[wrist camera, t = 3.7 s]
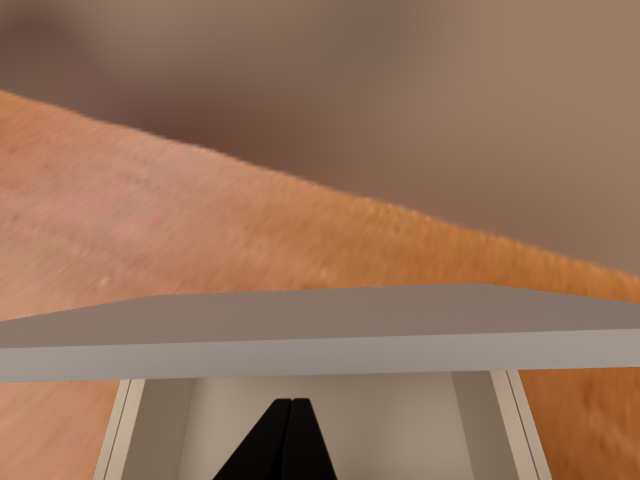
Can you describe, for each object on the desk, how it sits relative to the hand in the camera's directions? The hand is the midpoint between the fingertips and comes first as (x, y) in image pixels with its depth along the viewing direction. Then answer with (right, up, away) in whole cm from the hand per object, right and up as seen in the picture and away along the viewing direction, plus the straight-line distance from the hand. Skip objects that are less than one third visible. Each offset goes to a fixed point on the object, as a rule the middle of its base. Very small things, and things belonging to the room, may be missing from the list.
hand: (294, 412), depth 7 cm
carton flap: (0, +2, +2) cm, 2 cm away
